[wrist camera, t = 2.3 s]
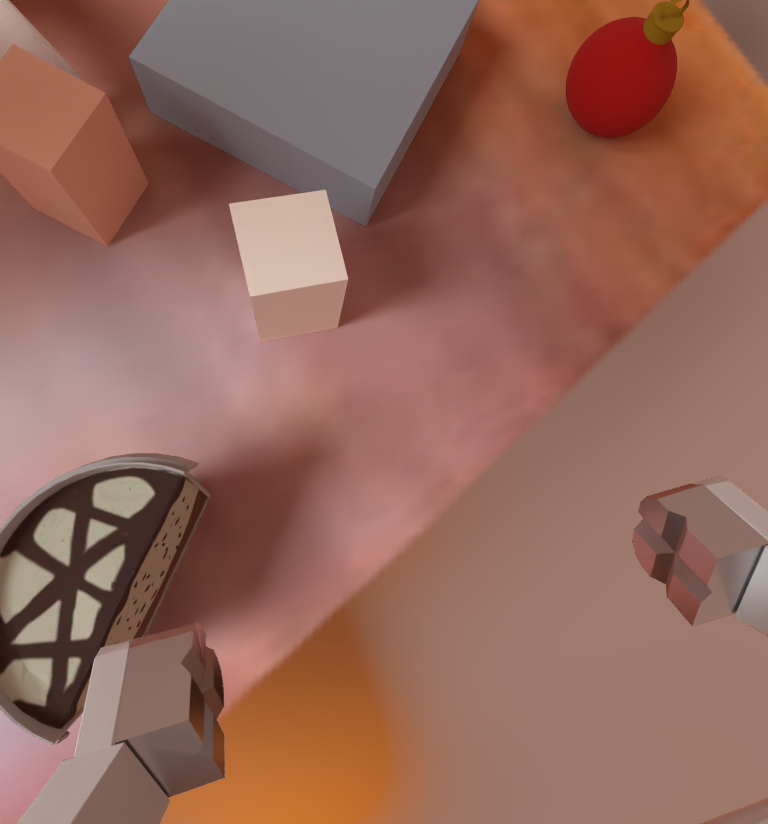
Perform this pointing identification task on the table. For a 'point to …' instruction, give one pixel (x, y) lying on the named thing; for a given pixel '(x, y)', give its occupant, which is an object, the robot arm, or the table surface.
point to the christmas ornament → (625, 72)
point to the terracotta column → (65, 147)
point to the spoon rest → (27, 38)
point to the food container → (87, 577)
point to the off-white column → (291, 263)
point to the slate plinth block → (304, 84)
